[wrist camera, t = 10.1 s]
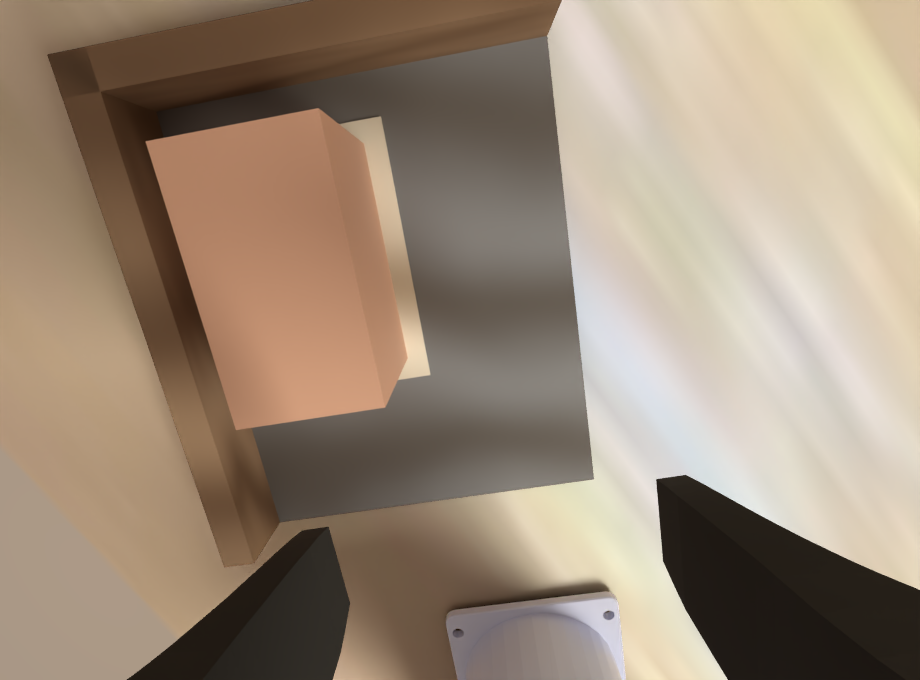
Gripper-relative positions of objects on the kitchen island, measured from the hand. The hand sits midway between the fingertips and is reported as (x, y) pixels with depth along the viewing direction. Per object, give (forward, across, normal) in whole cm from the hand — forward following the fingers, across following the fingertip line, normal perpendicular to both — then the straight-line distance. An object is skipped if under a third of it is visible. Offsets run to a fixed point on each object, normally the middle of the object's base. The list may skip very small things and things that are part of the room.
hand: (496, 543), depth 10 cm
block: (+9, +5, -6) cm, 12 cm away
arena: (+9, +3, -5) cm, 11 cm away
